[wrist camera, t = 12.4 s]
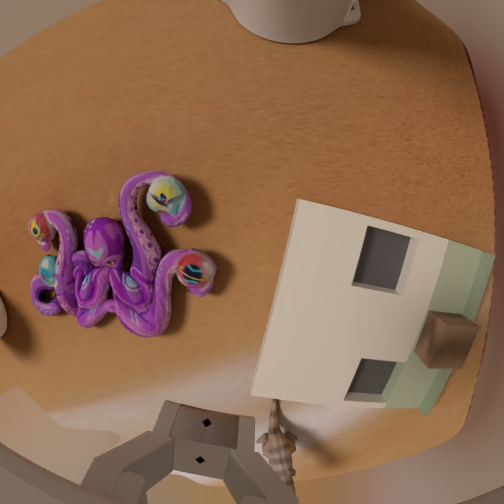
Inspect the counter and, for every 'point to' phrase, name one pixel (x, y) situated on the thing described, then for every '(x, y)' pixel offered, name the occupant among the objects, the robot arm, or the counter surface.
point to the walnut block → (445, 340)
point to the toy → (279, 449)
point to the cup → (2, 318)
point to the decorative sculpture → (120, 261)
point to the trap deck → (362, 310)
